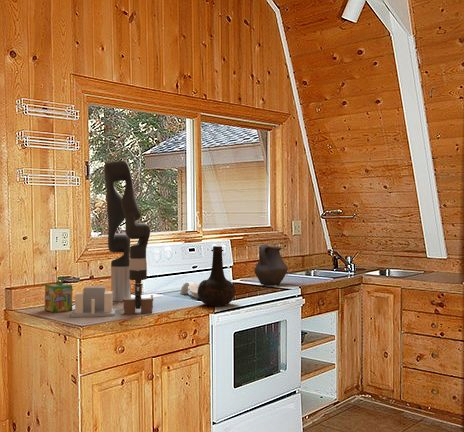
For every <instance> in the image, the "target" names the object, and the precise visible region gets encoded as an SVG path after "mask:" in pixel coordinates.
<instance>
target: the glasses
mask: <svg viewBox="0 0 464 432" xmlns="http://www.w3.org/2000/svg"><path fill="white" fill-rule="evenodd" d="M122 302H123V314H125V315H126V314H127V315H129V314H136V300H135V298H131V299H125V295H124V296H123V301H122ZM153 308H154V295H153V294H150V298H141V308H140V313H141V314H152V313H153Z"/></svg>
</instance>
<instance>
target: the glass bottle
mask: <svg viewBox="0 0 464 432" xmlns="http://www.w3.org/2000/svg"><path fill="white" fill-rule="evenodd" d="M210 251H211V252H212V261H211V262H212V263H211V270H210V274H209V278H207V279H204V280H202V281H201V282H200V283H198V284H199V287H198V297H199V298H198V299H199V300H200V302H202V303H203V304H204V305H207V306H209V307H225V306H227V305H229V304H230V303H232V301H233V300H234V298H235V297H236V296H235V295H236V288H235V285H234V284H233V283H232V281H230V280H228V279H227V278H226V276H225V272H224V262H223V252H224V251H225V250H224V249H223V246H217V245H214V246H212V249H211V250H210Z"/></svg>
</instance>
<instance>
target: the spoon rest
mask: <svg viewBox="0 0 464 432" xmlns="http://www.w3.org/2000/svg"><path fill="white" fill-rule="evenodd" d="M199 284H200V283H196V282H193V281H191V282H189V281H188V282H185V283H183V285H182V286H181V289H180V295H187V294H189V292H190V294H191V295H192V296H193V297H194V298H195V299H199V297H198V287H199Z"/></svg>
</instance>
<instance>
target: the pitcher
mask: <svg viewBox="0 0 464 432" xmlns="http://www.w3.org/2000/svg"><path fill="white" fill-rule="evenodd" d="M282 249H283V247H281V246H272V245H268V244H262V245H260V246H258V256H259V257H258V261H257V263H256V265H255V267H254V274H255V276H256V277H257V279H258V281H259V283H260V285H261V284H264V285H263V286H266V285H277V286H280V284H281V283H282V282H283V280H284V278H285V276H286V275H287V272H288V266H287V264H286V263H285V262H284V260H283V258H282V254H281V252H280V251H281V250H282Z"/></svg>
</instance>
